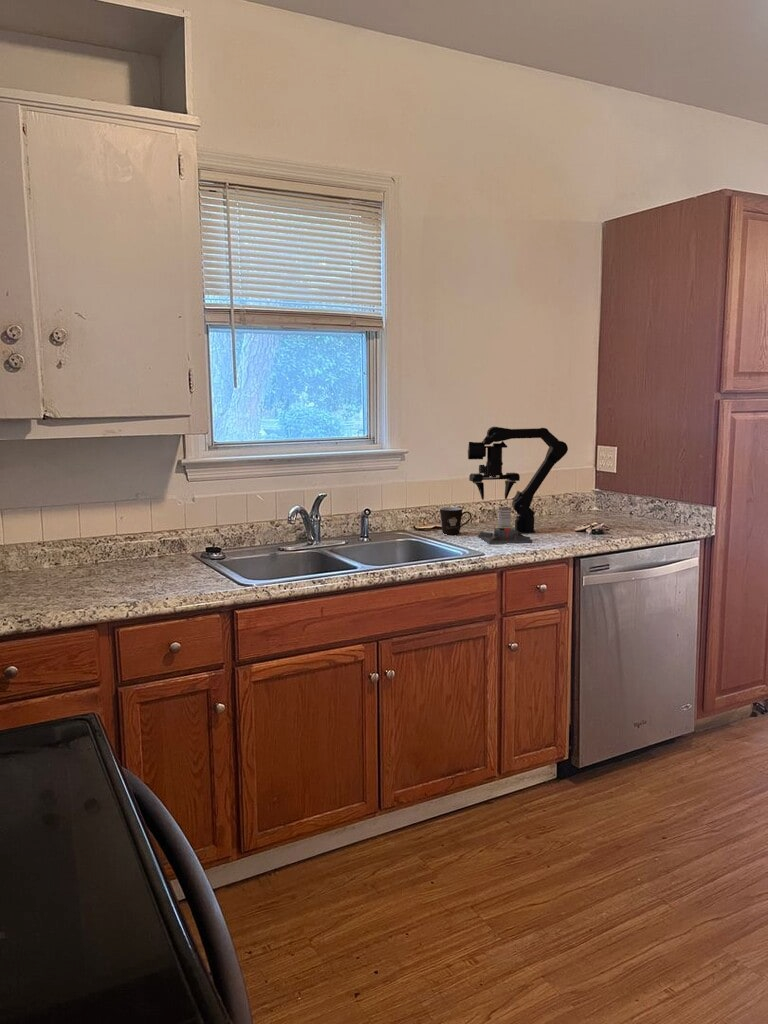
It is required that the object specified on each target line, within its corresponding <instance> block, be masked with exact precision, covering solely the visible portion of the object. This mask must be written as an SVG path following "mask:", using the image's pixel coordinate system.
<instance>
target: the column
mask: <svg viewBox="0 0 768 1024" xmlns="http://www.w3.org/2000/svg"><path fill="white" fill-rule="evenodd" d="M511 512H512V509H511V507H508V506H504V507H503V506H499V507H498V524H497V525H498V528H512V527H511V526H512V525H511V523H512V522H511V520H512V517H511V516H512V514H511Z"/></svg>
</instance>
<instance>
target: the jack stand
mask: <svg viewBox="0 0 768 1024" xmlns="http://www.w3.org/2000/svg"><path fill="white" fill-rule="evenodd" d="M493 530H494V533H493V532H486V531H479V534H477V537H478V538H479V539H480V538H481V539H480V540H482V541H483V540H484V541H483V542H485V543H486V542H487V543H486V544H488V545H508V544H507V543H515V544H532V543H533V539H531V536H525V535H524V534H523V533H518V531H515V528H514V529H513V528H512V527H496V528H493Z"/></svg>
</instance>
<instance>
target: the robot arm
mask: <svg viewBox="0 0 768 1024" xmlns="http://www.w3.org/2000/svg"><path fill="white" fill-rule="evenodd" d="M511 439H512V440H513V439H514V440H515V439H541V440H542V441H543V442H544V443H545V444H546V445H547V446H548V449H547V451H546V454H545V458H544V460H543V461H542V463H541V464H540V466H539V467H538V469H537V470H536V472H535V473H534V475H533V476H532V478H531V479H530V481H529V482H528V484H527V485H526V487H525V488H524V489H523V490H522V491H520V490H517V491H516V494H515V496H514V497H512V498H511V499H512V502H511V507H512V510H514V511H515V512H516V513H517V515H516V518H515V520H514V530H515V531H518V533H520V534H535V533H536V531H535V511H534V510H533V509H531V507H530V506H531V505H532V501H533V499H534V495H535V494H536V492H537V491H538V490H539V488H540V487H541V485H542V483H543V482H544V480H545V479H546V477H547V476H548V474H549V473H550V471H551V470H552V468H553V467H554V466H555V464H557V463H558V462H559V461H560V460H562V458H564V457H565V455H566V454H567V453H568V450H569V448H568V444H567V443H566V442H564V441H563V440H559V439H558V438H557V437H556V436H555V435H554V434H553V433H551V432H550V431H549V429H548V428H546V427H540V428H508V427H507V428H506V427H501V426H490V427H489V428H488V429H487V431H486V436H485V437H484V438H483V439H482V441H479V442H477V441H476V442H475V441H469V442H468V447H467V448H468V449H467V459H468V460H483V459H484V458H485V457H486V459H487V460H486V465H485V464H479V465H478V473H470V474H469V476H468V477H469V479H468V480H469V481H470V482H472V483H473V484H475V485H476V488H477V490H478V492H479V495H480V498H481V500H483V501H484V499H485V488H484V487H485V485H484V482H483V481H485V480H486V481H489V480H491V481H492V480H504V485H505V486H504V500H508V496H509V494H510V491H511V489H512V488H513V486H514V484H517V482H519V481H520V478H521V476H520V474H519V473H517V472H506V473H505V474H503V464H504V463H503V449H504V448H505V449H506V448H508V445H507V444H506V443H505V442H504V441H507V440H511ZM491 444H492V445H491Z"/></svg>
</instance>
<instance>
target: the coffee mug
mask: <svg viewBox="0 0 768 1024" xmlns="http://www.w3.org/2000/svg"><path fill="white" fill-rule="evenodd" d="M439 512H440V513H439V514H440V520H441V521H440V522H441V530H442V534H443V533H444V534H447V535H456V536H459V535H460V534H461V528H462V527H464V525H467V524H468V523H469V522H470V520H471V519H472V518H473V517H472V513H471V512H470V511H463V508H462V507H457V506H456V507H453V506H452V507H449V506H448V507H441V508H439ZM465 514H468V515H469V518H468V520H466V521H465V522H464V523H462V517H463V515H465ZM458 534H459V535H458Z"/></svg>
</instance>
